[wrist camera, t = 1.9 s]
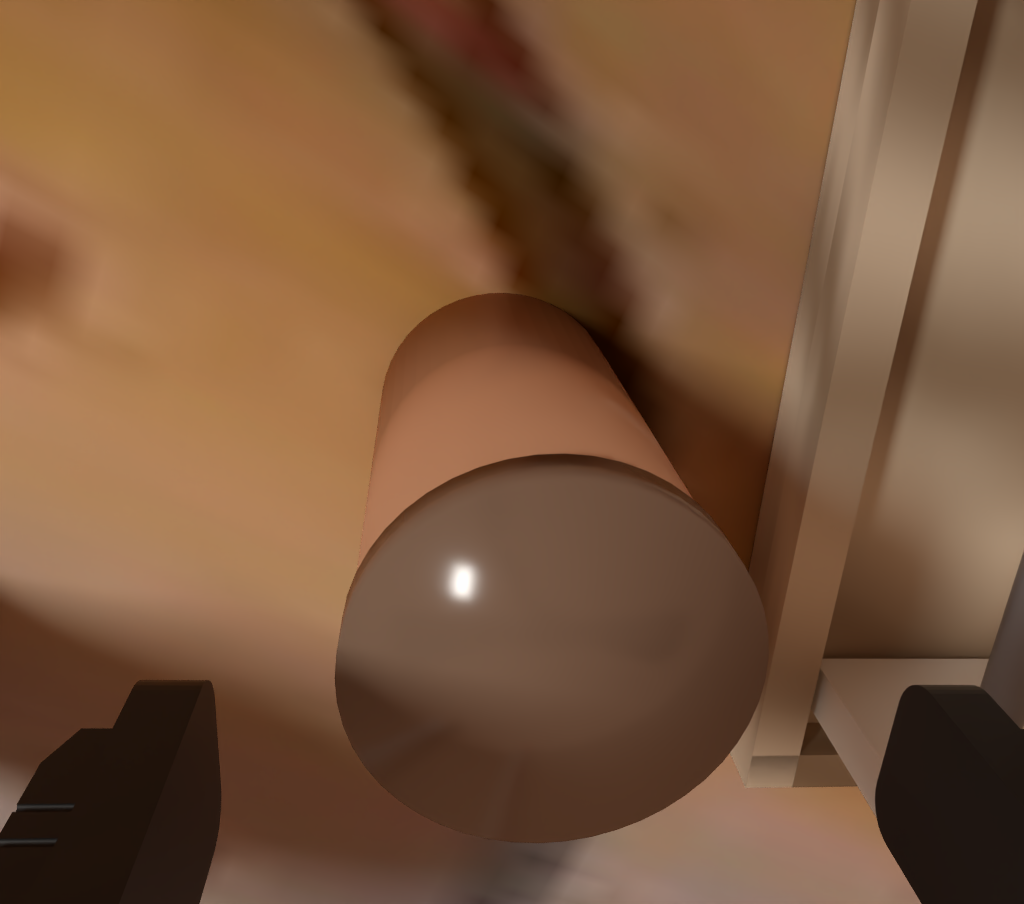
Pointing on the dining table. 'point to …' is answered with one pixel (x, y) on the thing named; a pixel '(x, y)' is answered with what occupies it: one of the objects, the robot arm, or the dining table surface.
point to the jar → (536, 591)
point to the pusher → (880, 683)
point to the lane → (899, 376)
